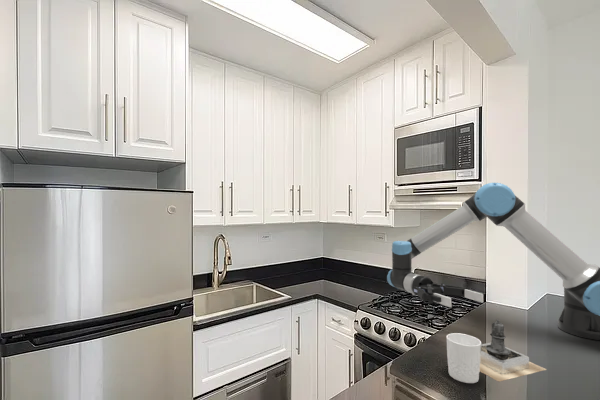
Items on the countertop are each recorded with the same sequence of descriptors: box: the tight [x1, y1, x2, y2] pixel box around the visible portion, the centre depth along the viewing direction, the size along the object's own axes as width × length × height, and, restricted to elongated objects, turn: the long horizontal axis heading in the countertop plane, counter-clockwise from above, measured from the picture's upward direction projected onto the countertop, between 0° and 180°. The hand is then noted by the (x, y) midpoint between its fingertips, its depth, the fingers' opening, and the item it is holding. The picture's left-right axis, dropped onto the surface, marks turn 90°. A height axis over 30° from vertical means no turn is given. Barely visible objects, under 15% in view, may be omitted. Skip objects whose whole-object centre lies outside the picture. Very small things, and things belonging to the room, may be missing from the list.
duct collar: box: [480, 342, 530, 375], centre depth 87 cm, size 10×10×3 cm
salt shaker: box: [486, 318, 510, 360], centre depth 87 cm, size 6×6×12 cm
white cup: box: [445, 332, 482, 384], centre depth 80 cm, size 8×8×10 cm
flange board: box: [479, 361, 547, 383], centre depth 87 cm, size 18×14×1 cm
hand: (467, 300), depth 99 cm, fingers open, 13 cm apart
